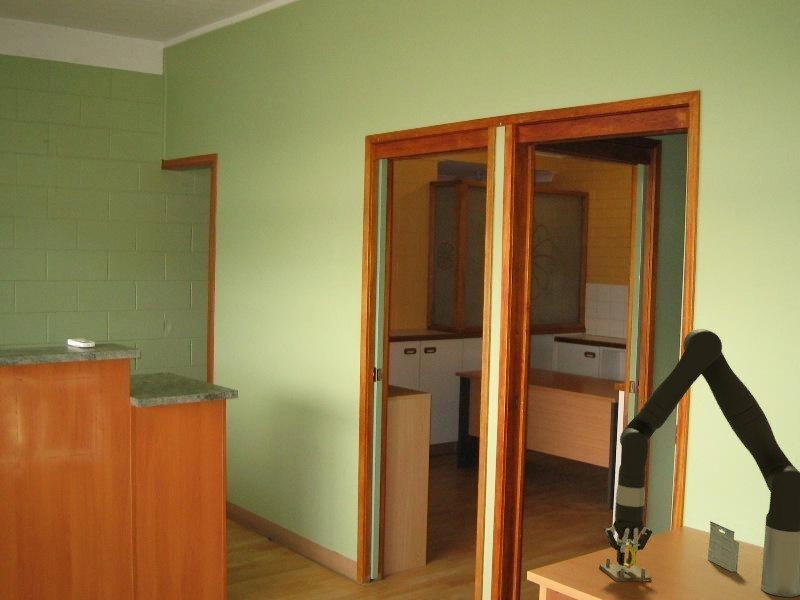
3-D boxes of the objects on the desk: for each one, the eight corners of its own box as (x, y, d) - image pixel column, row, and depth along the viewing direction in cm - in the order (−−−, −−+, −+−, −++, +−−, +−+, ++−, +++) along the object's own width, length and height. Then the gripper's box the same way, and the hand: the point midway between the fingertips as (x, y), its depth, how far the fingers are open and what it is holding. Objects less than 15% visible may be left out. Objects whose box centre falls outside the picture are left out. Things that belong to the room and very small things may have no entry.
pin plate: (632, 567, 260) (633, 556, 259) (651, 581, 249) (652, 570, 249) (599, 568, 257) (600, 557, 257) (616, 581, 247) (617, 570, 247)
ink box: (738, 572, 261) (741, 531, 260) (731, 572, 260) (734, 532, 260) (713, 559, 272) (716, 520, 271) (706, 559, 271) (709, 520, 271)
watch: (637, 568, 251) (639, 546, 251) (629, 569, 250) (631, 547, 250) (621, 561, 256) (623, 540, 256) (614, 562, 255) (615, 541, 255)
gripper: (612, 505, 247) (608, 569, 248) (660, 505, 250) (656, 568, 251) (600, 498, 255) (596, 560, 255) (647, 498, 257) (643, 559, 258)
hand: (626, 564), depth 253 cm, fingers closed on watch, 2 cm apart
